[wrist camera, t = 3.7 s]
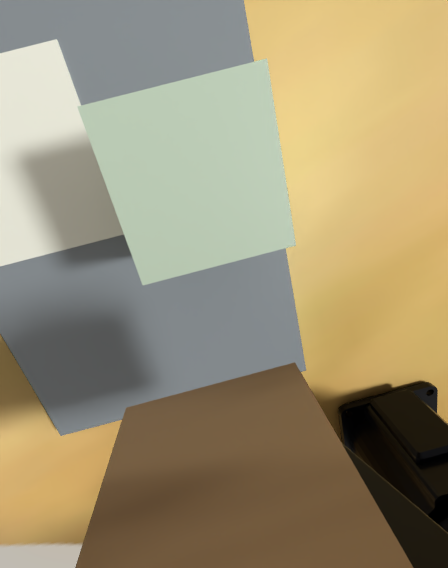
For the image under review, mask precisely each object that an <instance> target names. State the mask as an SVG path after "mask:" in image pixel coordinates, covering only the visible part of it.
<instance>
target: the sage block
mask: <svg viewBox="0 0 448 568" xmlns="http://www.w3.org/2000/svg"><path fill="white" fill-rule="evenodd" d="M77 107H78V110H79V113H80V116H81V118H82V121H83V124H84V126H85V129H86V132H87V135H88V137H89V140H90V143H91V146H92V148H93V151H94V154H95V157H96V159H97V162H98V165H99V167H100V170H101V173H102V176H103V178H104V181H105V184H106V187H107V189H108V192H109V195H110V197H111V200H112V203H113V206H114V208H115V211H116V214H117V217H118V219H119V222H120V225H121V228H122V230H123V233H124V236H125V238H126V241H127V244H128V247H129V249H130V252H131V255H132V258H133V260H134V263H135V266H136V269H137V271H138V274H139V277H140V279H141V282H142V285H147V284H150V283H154V282H158V281H162V280H166V279H170V278H173V277H177V276H181V275H185V274H189V273H193V272H196V271H200V270H204V269H208V268H212V267H215V266H219V265H223V264H227V263H231V262H235V261H238V260H242V259H246V258H250V257H254V256H258V255H261V254H265V253H269V252H273V251H277V250H280V249H284V248H288V247H292V246H296V243H295V236H294V230H293V223H292V217H291V210H290V204H289V198H288V191H287V185H286V178H285V172H284V165H283V159H282V152H281V146H280V140H279V133H278V127H277V120H276V114H275V107H274V101H273V95H272V88H271V82H270V75H269V69H268V62H267V59H263V60H259V61H255V62H251V63H247V64H243V65H239V66H235V67H231V68H227V69H224V70H220V71H216V72H212V73H208V74H204V75H200V76H196V77H192V78H188V79H184V80H180V81H176V82H172V83H168V84H164V85H160V86H156V87H152V88H148V89H145V90H141V91H137V92H133V93H129V94H125V95H121V96H117V97H113V98H109V99H105V100H101V101H97V102H93V103H89V104H85V105H81V106H77Z"/></svg>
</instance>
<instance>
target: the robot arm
mask: <svg viewBox="0 0 448 568" xmlns="http://www.w3.org/2000/svg"><path fill="white" fill-rule="evenodd" d="M346 412H347V413H346ZM338 414H339V422H340V430H341V437H342V445H343V447H344V448H345V450H346V452H347V453H348V455H349V457H350V459H351V460H352V462H353V464H354V466H355V467H356V469H357V471H358V473H359V474H360V476H361V478H362V479H363V481H364V483H365V485H366V486H367V488H368V490H369V492H370V493H371V495H372V497H373V499H374V500H375V502H376V504H377V505H378V507H379V509H380V511H381V512H382V514H383V516H384V518H385V519H386V521H387V523H388V525H389V526H390V528H391V530H392V532H393V533H394V535H395V537H396V538H397V540H398V542H399V544H400V545H401V547H402V549H403V551H404V552H405V554H406V556H407V558H408V559H409V561H410V563H411V564H412V566H413V568H448V423H446V422H445V421H444V420H443V419H442V418H441V417H440V416H439V415H438V414H437V388H436V387H435V386H434V385H432V384H431V383H429V382H425V383H421V384H418V385H414V386H410V387H407V388H403V389H399V390H395V391H392V392H388V393H384V394H380V395H377V396H373V397H369V398H366V399H362V400H358V401H354V402H351V403H347V404H344V405H342V406H341V407H340V408H339V409H338Z"/></svg>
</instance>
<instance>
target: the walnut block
mask: <svg viewBox="0 0 448 568" xmlns="http://www.w3.org/2000/svg"><path fill="white" fill-rule="evenodd" d="M76 568H413V566H412V564H411V563H410V561H409V559H408V558H407V556H406V554H405V552H404V551H403V549H402V547H401V545H400V544H399V542H398V540H397V538H396V537H395V535H394V533H393V532H392V530H391V528H390V526H389V525H388V523H387V521H386V519H385V518H384V516H383V514H382V512H381V511H380V509H379V507H378V505H377V504H376V502H375V500H374V499H373V497H372V495H371V493H370V492H369V490H368V488H367V486H366V485H365V483H364V481H363V479H362V478H361V476H360V474H359V473H358V471H357V469H356V467H355V466H354V464H353V462H352V460H351V459H350V457H349V455H348V453H347V452H346V450H345V448H344V447H343V445H342V443H341V441H340V440H339V438H338V436H337V434H336V433H335V431H334V429H333V427H332V426H331V424H330V422H329V421H328V419H327V417H326V415H325V414H324V412H323V410H322V408H321V407H320V405H319V403H318V401H317V400H316V398H315V396H314V395H313V393H312V391H311V389H310V388H309V386H308V384H307V382H306V381H305V379H304V377H303V375H302V374H301V372H300V370H299V369H298V367H297V365H296V363H295V362H294V363H291V364H287V365H283V366H279V367H276V368H272V369H268V370H265V371H261V372H257V373H253V374H250V375H246V376H242V377H238V378H235V379H231V380H227V381H224V382H220V383H216V384H212V385H209V386H205V387H201V388H197V389H194V390H190V391H186V392H183V393H179V394H175V395H171V396H168V397H164V398H160V399H156V400H153V401H149V402H145V403H142V404H138V405H134V406H130V407H127V408H126V409H125V413H124V416H123V419H122V422H121V425H120V428H119V432H118V435H117V438H116V441H115V444H114V447H113V451H112V454H111V457H110V460H109V463H108V466H107V470H106V473H105V476H104V479H103V482H102V485H101V488H100V492H99V495H98V498H97V501H96V504H95V507H94V511H93V514H92V517H91V520H90V523H89V526H88V530H87V533H86V536H85V539H84V542H83V545H82V549H81V552H80V555H79V558H78V561H77V564H76Z"/></svg>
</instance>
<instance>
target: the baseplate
mask: <svg viewBox="0 0 448 568" xmlns="http://www.w3.org/2000/svg"><path fill="white" fill-rule="evenodd" d="M251 62H254V59H253V53H252V47H251V41H250V35H249V29H248V23H247V17H246V12H245V6H244V0H0V334H1V336H2V337H3V339H4V341H5V342H6V344H7V346H8V347H9V349H10V351H11V353H12V354H13V356H14V358H15V359H16V361H17V363H18V364H19V366H20V368H21V369H22V371H23V373H24V375H25V376H26V378H27V380H28V381H29V383H30V385H31V386H32V388H33V390H34V391H35V393H36V395H37V396H38V398H39V400H40V402H41V403H42V405H43V407H44V408H45V410H46V412H47V413H48V415H49V417H50V418H51V420H52V422H53V424H54V425H55V427H56V429H57V430H58V432H59V434H60V435H61V436H62V435H66V434H70V433H73V432H77V431H81V430H85V429H88V428H92V427H96V426H100V425H103V424H107V423H111V422H115V421H118V420H122V419H123V416H124V413H125V409H126V408H127V407H130V406H134V405H138V404H142V403H145V402H149V401H153V400H156V399H160V398H164V397H168V396H171V395H175V394H179V393H183V392H186V391H190V390H194V389H197V388H201V387H205V386H209V385H212V384H216V383H220V382H224V381H227V380H231V379H235V378H238V377H242V376H246V375H250V374H253V373H257V372H261V371H265V370H268V369H272V368H276V367H279V366H283V365H287V364H291V363H294V362H295V363H296V365H297V367H298V369H299V370H300V372H302V371H306V367H305V361H304V355H303V349H302V343H301V337H300V331H299V325H298V319H297V313H296V307H295V301H294V296H293V290H292V284H291V278H290V272H289V266H288V260H287V254H286V248H284V249H280V250H277V251H273V252H269V253H265V254H261V255H258V256H254V257H250V258H246V259H242V260H238V261H235V262H231V263H227V264H223V265H219V266H215V267H212V268H208V269H204V270H200V271H196V272H193V273H189V274H185V275H181V276H177V277H173V278H170V279H166V280H162V281H158V282H154V283H150V284H147V285H142V282H141V279H140V277H139V274H138V271H137V269H136V266H135V263H134V260H133V258H132V255H131V252H130V249H129V247H128V244H127V241H126V238H125V236H124V233H123V230H122V228H121V225H120V222H119V219H118V217H117V214H116V211H115V208H114V206H113V203H112V200H111V197H110V195H109V192H108V189H107V187H106V184H105V181H104V178H103V176H102V173H101V170H100V167H99V165H98V162H97V159H96V157H95V154H94V151H93V148H92V146H91V143H90V140H89V137H88V135H87V132H86V129H85V126H84V124H83V121H82V118H81V116H80V113H79V110H78V107H77V106H81V105H85V104H89V103H93V102H97V101H101V100H105V99H109V98H113V97H117V96H121V95H125V94H129V93H133V92H137V91H141V90H145V89H148V88H152V87H156V86H160V85H164V84H168V83H172V82H176V81H180V80H184V79H188V78H192V77H196V76H200V75H204V74H208V73H212V72H216V71H220V70H224V69H227V68H231V67H235V66H239V65H243V64H247V63H251Z"/></svg>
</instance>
